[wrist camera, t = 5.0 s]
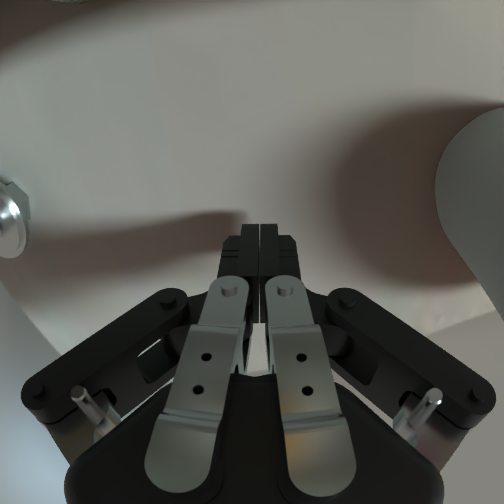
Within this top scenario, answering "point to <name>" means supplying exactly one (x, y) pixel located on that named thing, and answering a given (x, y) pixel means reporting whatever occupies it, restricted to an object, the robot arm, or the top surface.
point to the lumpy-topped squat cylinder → (476, 200)
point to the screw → (13, 220)
